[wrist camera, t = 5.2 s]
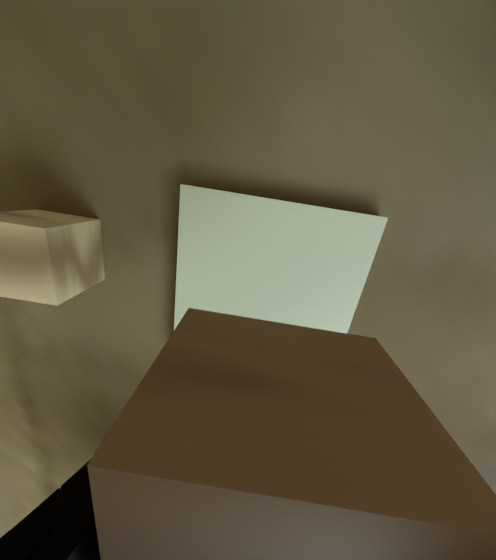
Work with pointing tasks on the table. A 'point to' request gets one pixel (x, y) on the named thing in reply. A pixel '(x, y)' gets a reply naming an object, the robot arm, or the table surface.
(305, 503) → the walnut block
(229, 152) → the table surface
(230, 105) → the table surface
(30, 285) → the maple block
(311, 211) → the plate
